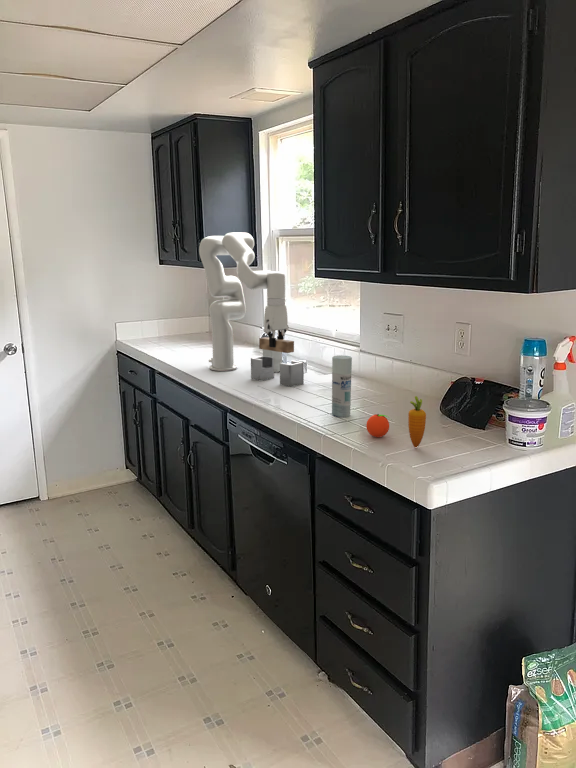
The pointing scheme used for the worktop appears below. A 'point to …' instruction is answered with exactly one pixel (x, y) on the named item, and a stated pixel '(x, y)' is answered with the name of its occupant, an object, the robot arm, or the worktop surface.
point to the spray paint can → (341, 385)
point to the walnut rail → (277, 345)
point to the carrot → (416, 422)
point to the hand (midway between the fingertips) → (276, 345)
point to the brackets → (288, 372)
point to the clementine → (377, 425)
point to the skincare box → (276, 356)
